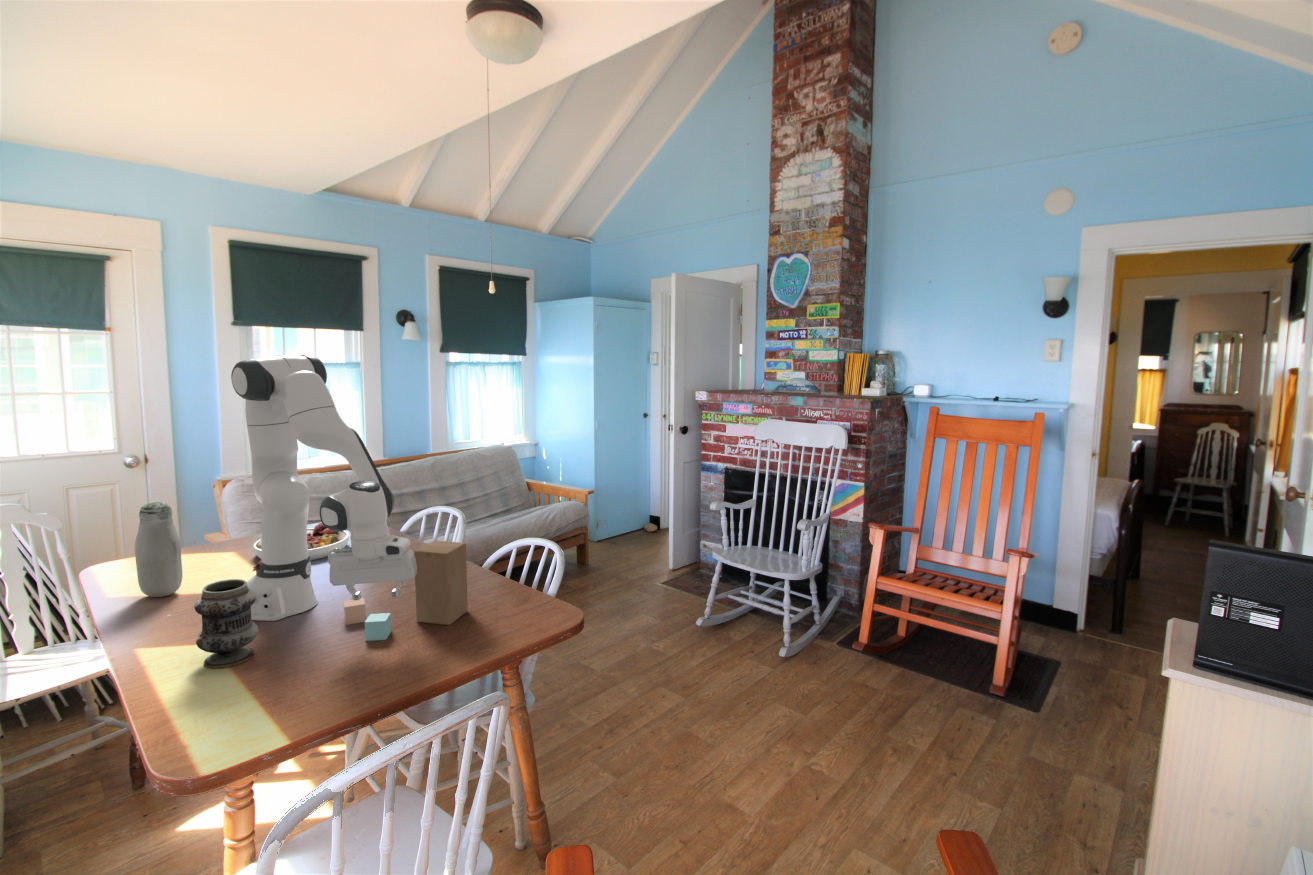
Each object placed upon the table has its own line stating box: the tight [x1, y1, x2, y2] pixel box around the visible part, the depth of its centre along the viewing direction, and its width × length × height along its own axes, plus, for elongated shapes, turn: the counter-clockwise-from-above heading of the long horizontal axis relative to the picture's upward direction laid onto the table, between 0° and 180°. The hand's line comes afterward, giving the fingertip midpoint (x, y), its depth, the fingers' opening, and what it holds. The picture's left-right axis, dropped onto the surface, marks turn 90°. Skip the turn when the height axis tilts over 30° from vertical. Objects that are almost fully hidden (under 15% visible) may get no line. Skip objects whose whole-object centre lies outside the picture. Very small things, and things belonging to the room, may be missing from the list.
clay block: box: [343, 597, 367, 626], centre depth 166 cm, size 5×5×5 cm
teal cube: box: [364, 612, 393, 642], centre depth 157 cm, size 5×5×5 cm
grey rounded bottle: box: [134, 501, 183, 598], centre depth 180 cm, size 10×10×28 cm
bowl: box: [253, 522, 350, 562], centre depth 223 cm, size 30×30×8 cm
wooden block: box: [413, 540, 469, 626], centre depth 168 cm, size 10×10×20 cm
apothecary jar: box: [193, 578, 259, 669], centre depth 143 cm, size 12×12×18 cm
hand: (376, 597), depth 156 cm, fingers open, 8 cm apart
